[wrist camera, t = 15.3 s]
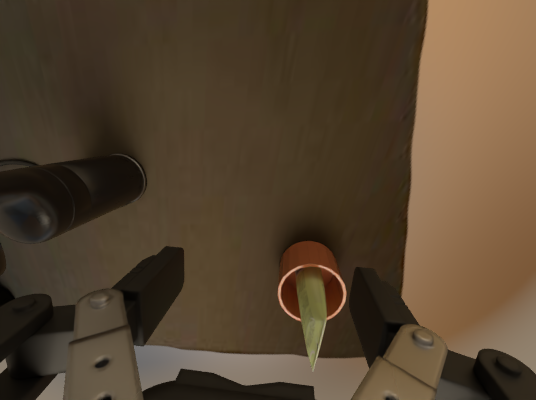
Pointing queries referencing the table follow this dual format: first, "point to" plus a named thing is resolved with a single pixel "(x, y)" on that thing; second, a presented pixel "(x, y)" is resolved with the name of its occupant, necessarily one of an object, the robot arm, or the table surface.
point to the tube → (312, 308)
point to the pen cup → (310, 257)
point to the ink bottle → (4, 296)
